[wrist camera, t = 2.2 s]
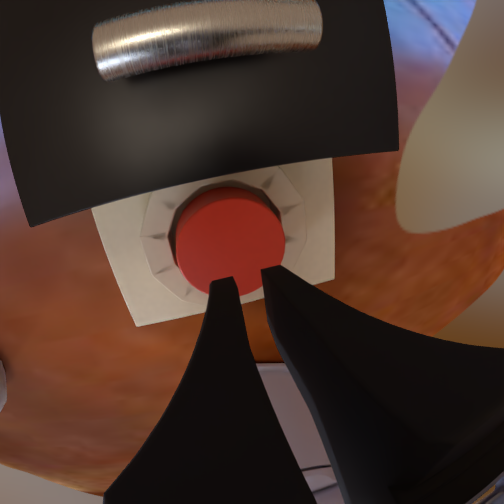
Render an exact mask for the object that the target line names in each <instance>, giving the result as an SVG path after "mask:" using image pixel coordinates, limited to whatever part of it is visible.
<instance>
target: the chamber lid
mask: <svg viewBox="0 0 504 504" xmlns="http://www.w3.org/2000/svg"><path fill="white" fill-rule="evenodd" d="M0 116H1V122H2V128H3V133H4V138H5V143H6V147H7V152H8V156H9V160H10V164H11V168H12V172H13V176H14V179H15V183H16V186H17V189H18V193H19V196H20V199H21V202H22V205H23V208H24V211H25V214H26V217H27V220H28V223H29V226H30V227H34V226H37V225H40V224H43V223H46V222H49V221H52V220H55V219H58V218H61V217H64V216H67V215H70V214H74V213H77V212H80V211H83V210H87V209H90V208H93V207H97V206H100V205H104V204H107V203H111V202H114V201H118V200H122V199H125V198H129V197H133V196H137V195H141V194H145V193H149V192H153V191H157V190H161V189H165V188H169V187H173V186H178V185H182V184H186V183H191V182H195V181H200V180H205V179H209V178H214V177H219V176H224V175H229V174H234V173H239V172H245V171H250V170H256V169H261V168H267V167H273V166H279V165H285V164H292V163H298V162H305V161H312V160H319V159H327V158H334V157H343V156H351V155H360V154H370V153H380V152H391V151H398V150H399V129H398V108H397V93H396V82H395V72H394V63H393V55H392V47H391V40H390V34H389V28H388V22H387V17H386V11H385V6H384V1H383V0H0Z"/></svg>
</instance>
